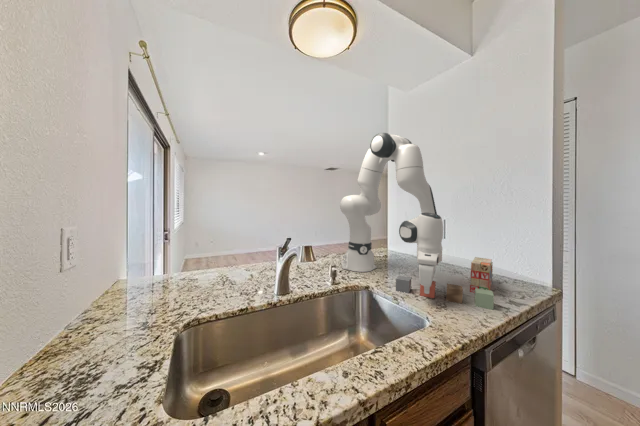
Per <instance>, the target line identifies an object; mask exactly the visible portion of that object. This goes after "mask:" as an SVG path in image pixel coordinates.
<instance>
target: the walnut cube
mask: <svg viewBox="0 0 640 426" xmlns="http://www.w3.org/2000/svg"><path fill="white" fill-rule="evenodd" d="M463 289H464V287H463V285H459V284H451V283H446V298H445V301H446V302H451V303H456V304H461V305H463V295H464V294H463V293H464V291H463Z"/></svg>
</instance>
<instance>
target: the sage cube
mask: <svg viewBox="0 0 640 426" xmlns="http://www.w3.org/2000/svg"><path fill="white" fill-rule="evenodd" d="M494 301H495V294H494V291H492V290H491V289H490V290H484V289H478V288H475V293H474V307H476V308H482V309H486V310H494Z"/></svg>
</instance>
